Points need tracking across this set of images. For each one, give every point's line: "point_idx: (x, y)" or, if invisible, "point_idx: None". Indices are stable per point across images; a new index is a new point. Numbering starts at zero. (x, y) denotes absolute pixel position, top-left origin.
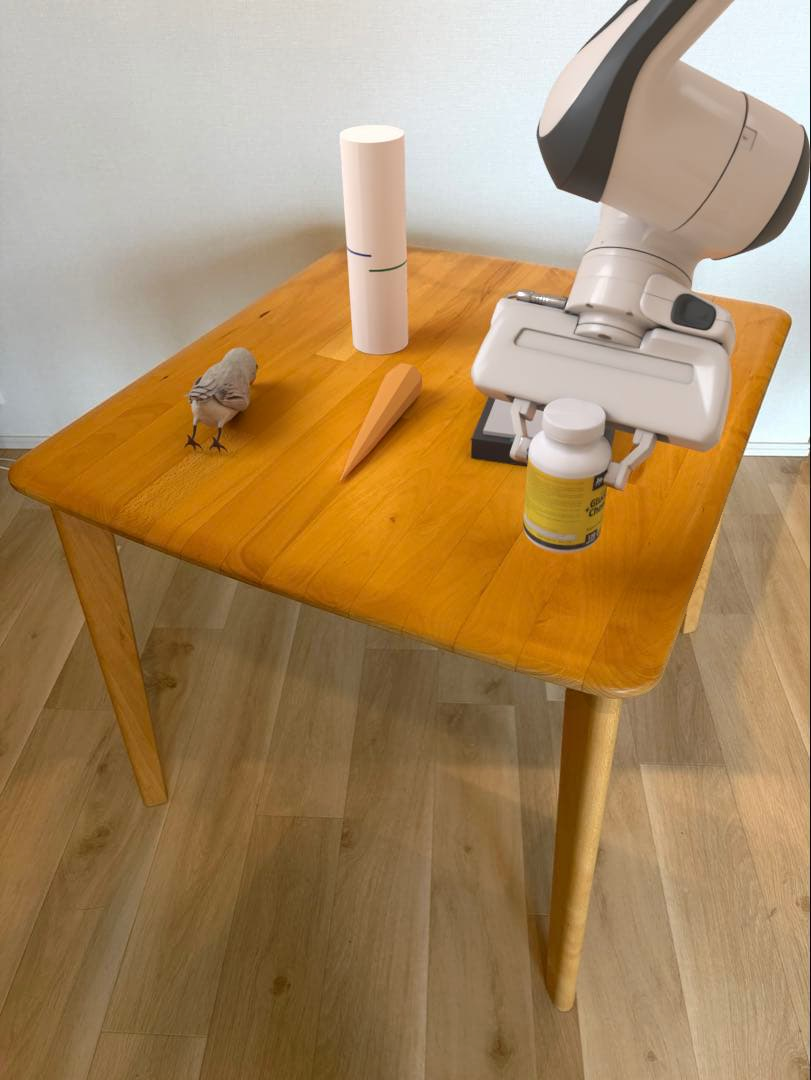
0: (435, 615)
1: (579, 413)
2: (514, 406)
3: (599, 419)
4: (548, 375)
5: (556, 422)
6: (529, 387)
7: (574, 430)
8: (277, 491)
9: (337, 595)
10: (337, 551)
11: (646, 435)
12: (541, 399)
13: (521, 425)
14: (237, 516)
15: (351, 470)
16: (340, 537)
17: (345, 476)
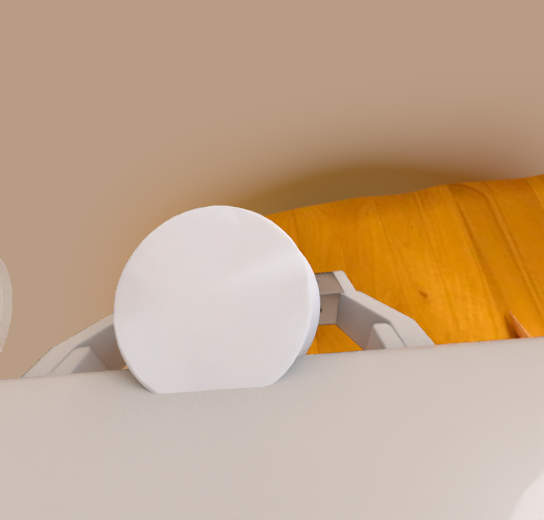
0: (317, 219)
1: (196, 299)
2: (416, 332)
3: (126, 300)
4: (420, 468)
5: (238, 215)
6: (433, 373)
7: (180, 214)
8: (539, 269)
9: (387, 198)
10: (426, 234)
11: (40, 374)
12: (359, 352)
13: (360, 305)
14: (529, 223)
15: (519, 335)
16: (439, 249)
17: (514, 322)
